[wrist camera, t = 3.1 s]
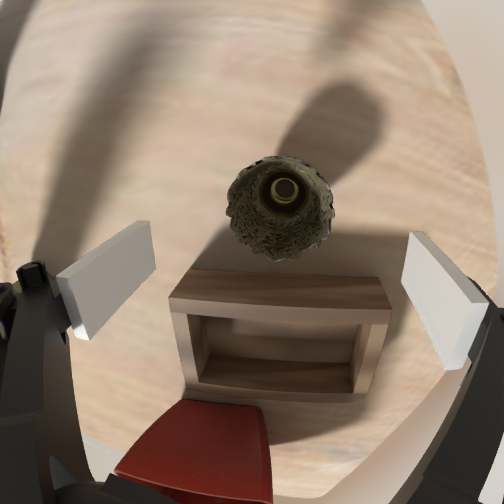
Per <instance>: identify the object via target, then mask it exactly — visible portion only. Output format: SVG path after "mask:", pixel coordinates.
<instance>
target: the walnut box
mask: <svg viewBox="0 0 504 504" xmlns="http://www.w3.org/2000/svg"><path fill="white" fill-rule="evenodd" d="M168 299H169V305H170V311H171V316H172V321H173V327H174V332H175V337H176V342H177V347H178V351H179V356H180V361H181V365H182V370H183V374H184V378H185V382H186V387H187V389H188V390H194V391H200V392H207V393H213V394H221V395H228V396H237V397H246V398H256V399H267V400H280V401H298V402H364V400H365V397H366V395H367V392H368V389H369V386H370V383H371V381H372V378H373V375H374V372H375V369H376V366H377V362H378V359H379V356H380V353H381V350H382V346H383V343H384V339H385V336H386V332H387V329H388V325H389V321H390V317H391V313H392V307H391V305H390V303H389V300H388V298H387V296H386V294H385V291H384V289H383V287H382V285H381V282H380V280H379V278H370V277H342V276H317V275H294V274H273V273H254V272H235V271H218V270H201V269H189V270H188V271H187V272H186V274H185V275H184V276H183V278H182V279H181V280H180V282H179V283H178V285H177V286H176V287H175V289H174V290H173V291H172V293H171V294H170V296H169V297H168Z"/></svg>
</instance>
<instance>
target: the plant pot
mask: <svg viewBox="0 0 504 504" xmlns="http://www.w3.org/2000/svg"><path fill="white" fill-rule="evenodd" d="M114 473H115V474H116V475H117V476H119V477H122V478H124V479H127V480H130V481H132V482H135V483H138V484H141V485H144V486H147V487H150V488H152V489H154V490H156V491H157V492H159V493H161V494H163V495H165V496H166V497H168V498H170V499H172V500H174V501H176V502H178V503H180V504H273V488H272V468H271V457H270V449H269V442H268V436H267V430H266V426H265V421H264V417H263V413H262V410H261V409H260V408H258V407H252V406H239V405H227V404H217V403H208V402H200V401H192V400H185V399H182V400H180V401H178V402H177V403H176V404H175V405H173V406H172V407H171V408H170V409H169V410H167V411H166V412H165V413H164V414H163V415H162V416H161V417H160V418H158V419H157V420H156V421H155V422H154V423H153V424H152V425H151V426H150V427H149V428H148V429H147V430H146V431H145V432H144V433H143V434H142V436H141V437H140V438H139V439H138V440H137V441H136V442H135V443H134V445H133V446H132V447H131V448H130V449H129V451H128V452H127V453H126V454H125V456H124V457H123V458H122V459H121V461H120V462H119V464H118V465H117V466H116V468H115V469H114Z"/></svg>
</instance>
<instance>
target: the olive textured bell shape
mask: <svg viewBox="0 0 504 504" xmlns="http://www.w3.org/2000/svg"><path fill="white" fill-rule="evenodd" d="M283 180H287V181H289V182H291V183H292V185H293V187H294V191H293V194H292V195H291V196H289V197H286V198H284V197H281V196H279V195H278V194H277V191H276V186H277V184H278V183H279V182H280V181H283ZM329 188H330V187H329V185H328V183H327V182H326V180H325V179H324V178H323V177H322V176H321V175H320V174H319V173H318V172H317V169H315V168H314V167H313V166H310V165H308V164H307V163H305V162H303V161H301V160H299V159H296V158H294V157H288V156H271V157H265V158H263V159H262V160H260V161H257V162H255V163H254V164H252V165H251V166H249V167H247V168H244V169H243V170H242V171H241V172H240V173H239V174H238V176H237V178H236V180H235V181H234V182H233V183H232V184H231V186H230V188H229V190H228V193H227V199H228V203H229V206H228V207H227V209H226V216H229V217H232V218H231V222H230V228H231V231H232V233H233V234H234V235H236V236H237V238H238V242H240V243H245V244H246V245H247V244H250V249H251V251H252V253H253V254H257V253H262V254H263V255H264V256H265V258H267V259H269V260H271V261H273V262H278V261H281V260H285V259H289V260H290V261H293V260H296V259H297V258H298V257H299V253H300V252H302V251H307V250H308V249H309V248H310V247H315V249H316V248H318V247H319V246H320V243H321V241H322V240H325V239H327V238H328V237H329V235H330V231H331V220H332V219H334V218H335V211H334V209H333V206H332V204H333V195H332V193H331V190H330V189H329Z"/></svg>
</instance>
